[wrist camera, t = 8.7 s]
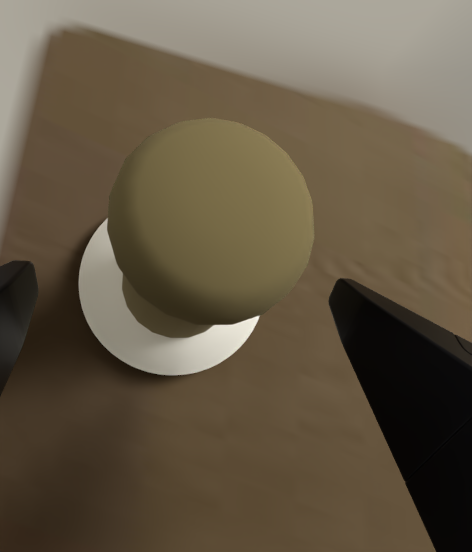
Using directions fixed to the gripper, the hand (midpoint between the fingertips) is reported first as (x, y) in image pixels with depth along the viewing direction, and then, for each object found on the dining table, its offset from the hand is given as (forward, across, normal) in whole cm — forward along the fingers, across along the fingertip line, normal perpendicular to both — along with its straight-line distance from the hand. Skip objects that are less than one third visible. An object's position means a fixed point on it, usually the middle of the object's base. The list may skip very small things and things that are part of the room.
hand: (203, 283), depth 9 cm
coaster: (+7, 0, +5) cm, 9 cm away
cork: (+7, 0, +5) cm, 8 cm away
